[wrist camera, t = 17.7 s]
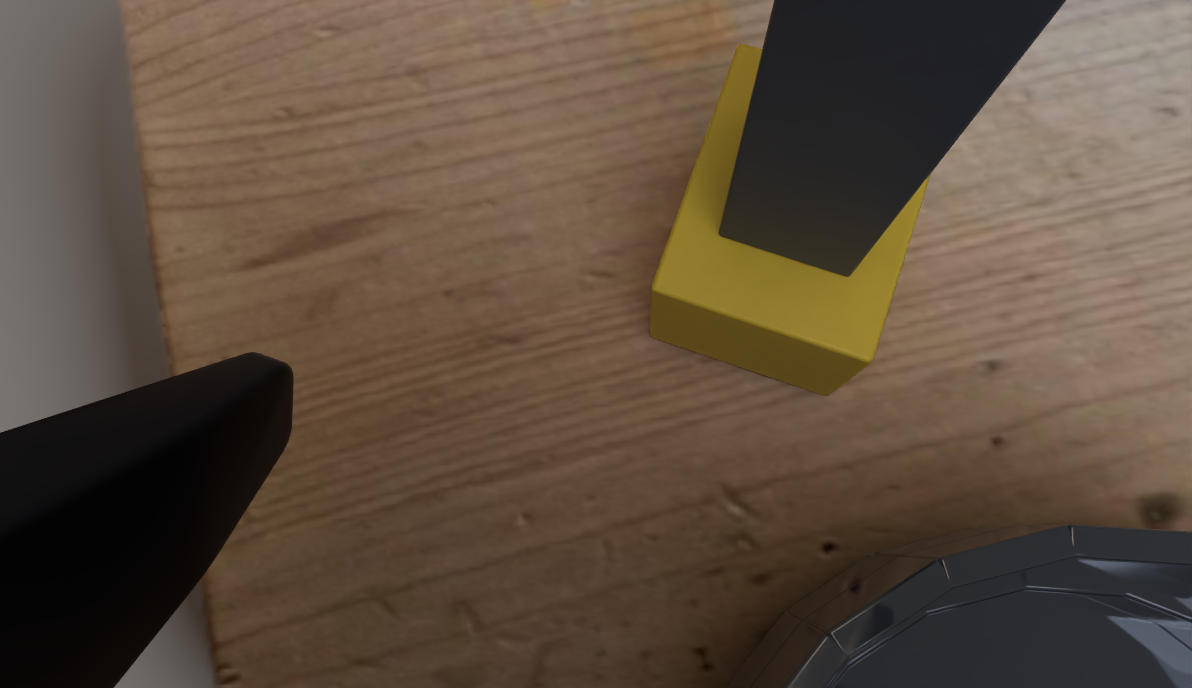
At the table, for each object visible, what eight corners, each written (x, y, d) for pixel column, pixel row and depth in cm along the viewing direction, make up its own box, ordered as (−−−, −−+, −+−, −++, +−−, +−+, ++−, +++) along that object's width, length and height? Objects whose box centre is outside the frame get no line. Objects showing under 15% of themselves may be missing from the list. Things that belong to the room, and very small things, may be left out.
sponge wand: (828, 398, 20) (1225, 95, 6) (648, 337, 20) (657, -69, 7) (895, 185, 21) (1371, -488, 7) (721, 131, 21) (859, -597, 8)
